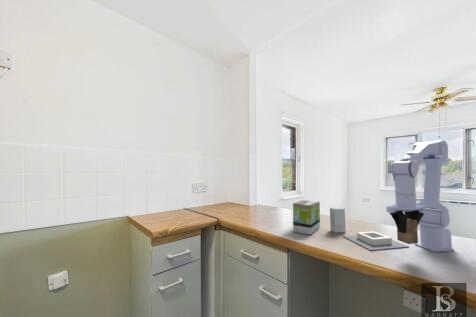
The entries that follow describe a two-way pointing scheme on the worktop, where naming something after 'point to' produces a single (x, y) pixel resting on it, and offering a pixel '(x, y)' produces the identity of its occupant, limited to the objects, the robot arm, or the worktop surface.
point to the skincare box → (337, 219)
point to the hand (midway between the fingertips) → (407, 231)
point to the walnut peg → (409, 232)
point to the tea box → (306, 216)
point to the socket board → (375, 241)
